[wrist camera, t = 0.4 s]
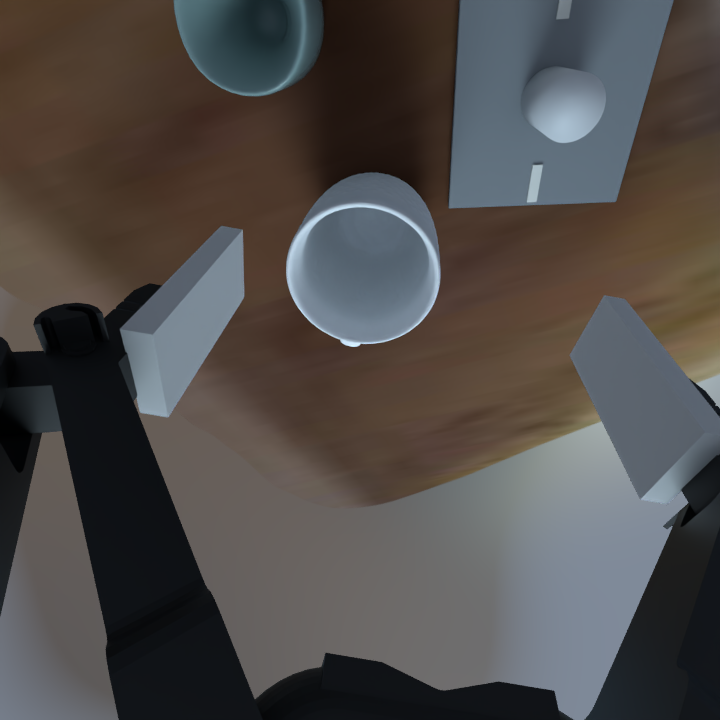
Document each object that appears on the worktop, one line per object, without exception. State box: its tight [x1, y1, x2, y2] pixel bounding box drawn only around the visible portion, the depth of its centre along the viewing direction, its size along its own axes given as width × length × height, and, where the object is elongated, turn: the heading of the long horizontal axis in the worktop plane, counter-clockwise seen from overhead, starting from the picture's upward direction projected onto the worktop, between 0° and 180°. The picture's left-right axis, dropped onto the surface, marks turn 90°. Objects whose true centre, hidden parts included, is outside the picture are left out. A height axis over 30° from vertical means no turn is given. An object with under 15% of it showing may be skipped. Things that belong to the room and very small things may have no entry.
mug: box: [286, 172, 440, 347], centre depth 36 cm, size 15×11×13 cm
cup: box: [174, 0, 324, 96], centre depth 28 cm, size 8×8×10 cm
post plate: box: [448, 0, 673, 208], centre depth 30 cm, size 16×14×7 cm
